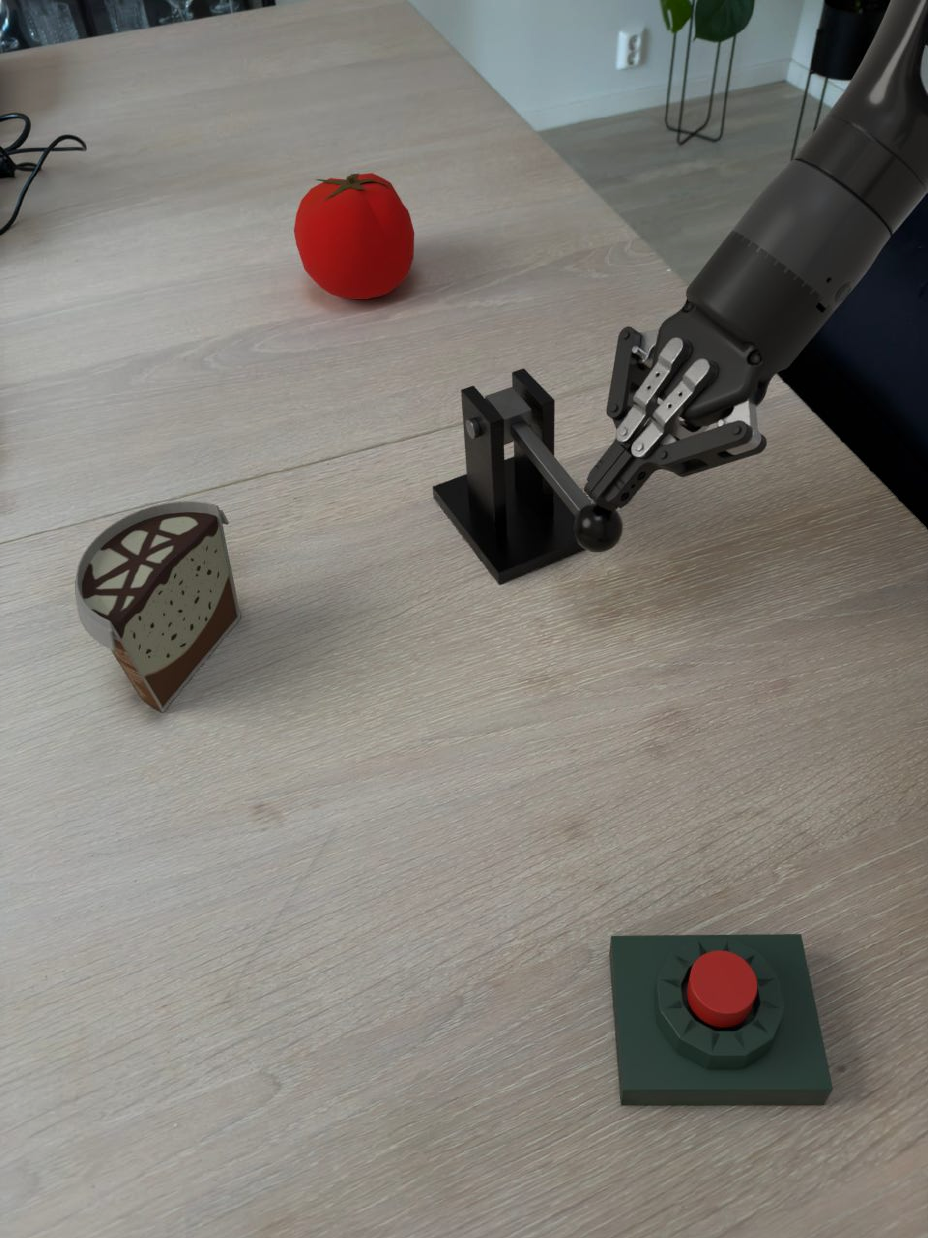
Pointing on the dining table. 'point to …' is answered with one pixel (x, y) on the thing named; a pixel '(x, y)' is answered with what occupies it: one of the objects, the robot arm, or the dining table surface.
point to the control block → (704, 1054)
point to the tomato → (355, 236)
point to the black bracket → (507, 490)
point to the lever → (557, 475)
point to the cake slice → (159, 594)
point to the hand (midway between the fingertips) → (598, 501)
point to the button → (721, 989)
